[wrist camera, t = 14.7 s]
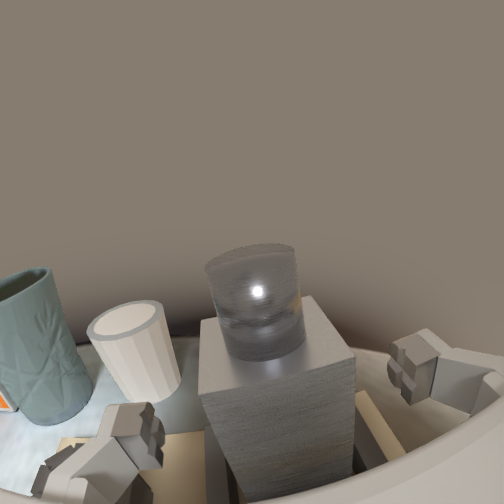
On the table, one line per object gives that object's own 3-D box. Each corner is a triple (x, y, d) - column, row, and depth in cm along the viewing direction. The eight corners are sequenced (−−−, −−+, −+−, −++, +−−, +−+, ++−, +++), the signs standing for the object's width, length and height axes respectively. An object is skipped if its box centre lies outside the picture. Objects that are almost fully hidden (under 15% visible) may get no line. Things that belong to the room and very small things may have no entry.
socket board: (36, 573, 5) (-11, 545, 4) (72, 450, 17) (45, 414, 16) (445, 539, 7) (473, 511, 6) (364, 404, 18) (365, 361, 17)
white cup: (187, 403, 22) (158, 330, 20) (111, 413, 21) (74, 345, 19) (188, 356, 29) (167, 292, 27) (124, 367, 28) (98, 307, 26)
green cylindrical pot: (111, 368, 28) (69, 258, 25) (79, 438, 18) (5, 305, 15) (41, 371, 28) (0, 276, 24) (3, 427, 18) (-60, 316, 15)
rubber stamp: (263, 530, 10) (165, 306, 6) (253, 471, 14) (182, 253, 10) (347, 509, 10) (350, 264, 6) (325, 453, 14) (301, 227, 10)
